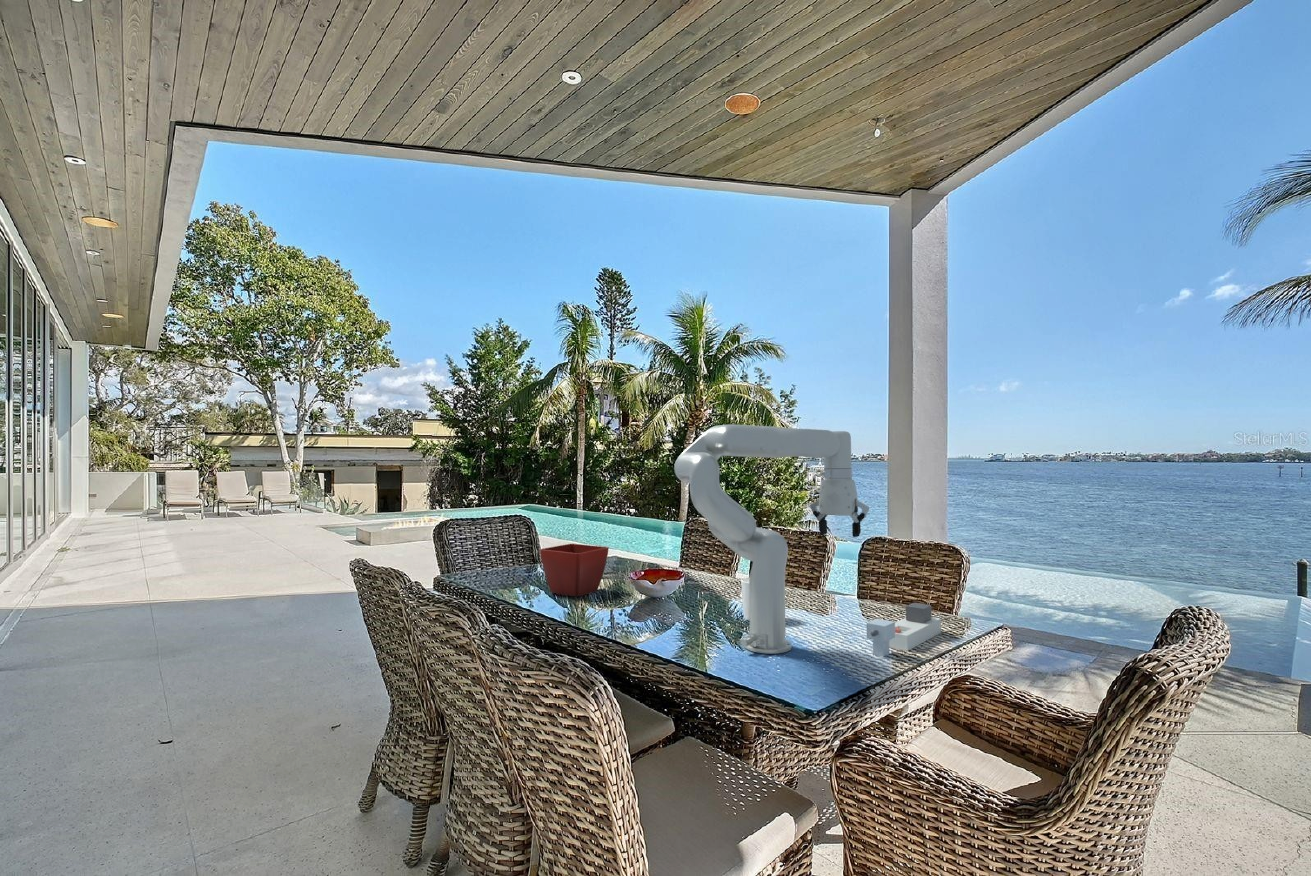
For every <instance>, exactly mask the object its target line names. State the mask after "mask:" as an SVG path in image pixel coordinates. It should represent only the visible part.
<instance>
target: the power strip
mask: <svg viewBox="0 0 1311 876" xmlns="http://www.w3.org/2000/svg"><path fill="white" fill-rule="evenodd" d="M941 619H942V618H940V617H934V616H933V617H932V619H931V620H929V621H927V622H925V623H919V622H914V621H908V620H906V617H904V618H902V619H900V620H897V621H894V622H895V638H893V639H891V640H889V649H890V648H891V649H897V650H901V651H905V652H908V651H910V650H912V649H913V648H915V647H917V646H919V645H921V644H923V643H924V642H927V641H929V640H930V639H932V638H933V637H936V636H938V635H939V634H941V633H942V622H941ZM926 640H927V641H926Z"/></svg>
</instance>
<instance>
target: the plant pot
mask: <svg viewBox="0 0 1311 876" xmlns="http://www.w3.org/2000/svg"><path fill="white" fill-rule="evenodd" d="M539 553H540V558H541V563H542V567H543V573H544V575H545V580H546V582H547V584H548V587H549V590H550V593H551V592H552V593H551V594H554V593H556V595H560V594H561V596H566V595H569V596H568V597H573V596H574V598H576V597H577V598H579V597H582V596H585V595H588V594H589V595H590V594H592V593H596V592H597V591H598V589H599V586H600V584H601V581H602V578H603V575H604V572H605V570H606V569H605V568H606V566H607V565H606V564H607V561H608V560H607V559H608V554H609V547H607V546H600V545H599V546H598V545H590V544H579V543H568V544H567V543H565V544H562V545H556V546H551V547H545V548H540V550H539ZM578 596H579V597H578Z"/></svg>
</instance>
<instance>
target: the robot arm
mask: <svg viewBox="0 0 1311 876" xmlns="http://www.w3.org/2000/svg"><path fill="white" fill-rule="evenodd" d="M725 456H726V457H744V458H745V457H746V458H767V459H768V458H771V459H773V458H775V459H776V458H778V459H779V458H780V459H781V458H789V457H791V458H793V457H794V458H795V457H797V458H798V457H799V458H800V457H802V458H811V459H812V458H813V459H814V458H815V459H817V458H820V459H823V470H820V472H819V475H820V476H823V478H824V479H821V482H820V487H819V498H818V500H817V501H815V502H812V503H811V504H809V507H810V510H811V511H812V515H813V516H814V517H815V518H816V521H818V531H819V535H820V536H823V535H827V533H828V520H827V519H826V518H827V517H828V516H841V517H842V516H843V517H847V516H849V517H850V519H852V521H853V522H852V524H851V526H852V527H851V528H852V538H858V537H860V534H861V529H862V528H861V522H863V520H864V519H865V518H866V517H867V515H868V512H869V511H870V506H868V505H867V504H865V503H863V502H861V501H859V500H858V492H857V487H856V482H855V479H853V467H852V466H853V465H852V436H851V434H850V432H848V431H843V430H841V431H840V430H838V431H836V430H835V431H834V430H833V431H832V430H829V429H815V428H814V429H813V428H793V427H783V426H769V425H767V426H766V425H748V424H747V425H746V424H722V425H721V424H720V425H714V426H712V427H709V428H708V429H707V430H705V432H703V433H702V434H701V435H700V436H699V437H698V438H697V439H695V441H693V443H692V444H691V445H689V446H688V447H687V448H685V449H684V450H683V452H681V453H680V455H679V456H677V459H676V460H675V463H674V468H673V469H674V474H675V476H676V477H677V479H679V481H681V482H683V483H686V484H689V493H690V499H691V503H692V504H693V507H694V508H695V510H696V511H697V512H698V513H699V514H700V515H701V516H702V517H703V518H705V519H706V520H707V524H708V525H707V526H708V528H709V531H710V532H711V534H712V536H714V537H715V538H716V539H718V540H719V541H720V542H722V544H724V545H725V546H726V547H728V548H729V549H730V550H731V551H733V552H734V553H736V555H738V556H740V557H741V558H742V559H745V560H747V561H749V562H752V565H751V569H750V573H749V577H748V578H749V596H750V621H749V631H748V633H747V634H748V636H747V637H745V638H742V639H741V640H740V645H741V646H742V647H744V648H745V649H746V650H748V651H750V652H754V653H758V654H764V655H765V654H766V655H768V654H771V655H772V654H775V655H776V654H777V655H778V654H783V653H787V652H789V651H791V650H792V646H793V645H792V642H791V641H789V640H787V639H786V568H787V567H786V566H787V561H788V555H789V549H788V543H787V541H786V539H785V537H784V536H783V535H782V534H780V533H779V532H777V531H774V530H772V529H768V528H767V529H766V528H764V527H763V528H762V527H758V526H757V522H756V519H755V518H754V516H753V515H752V513H750V512H749V511H748V510H747V509H746V508H744V507H743V506H742V505H740V504H739V503H738V502H737V501H735V500H734V499H733V498H732V497H731V496H730V495H728V494H727V493H726V492H725V491H724V489H722V487H721V483H720V466H719V465H720V464H719V462H718V461H719V459H720V458H721V457H725ZM859 508H860V509H861V513H860V514H859V513H858V512H859Z"/></svg>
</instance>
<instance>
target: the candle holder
mask: <svg viewBox="0 0 1311 876" xmlns="http://www.w3.org/2000/svg"><path fill="white" fill-rule="evenodd" d="M749 578H750V577H744V578H741V580H740V582H741V595H742V596H741V597H742V614H743V619H744V620H746V621H749V622H750V596H749Z"/></svg>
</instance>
